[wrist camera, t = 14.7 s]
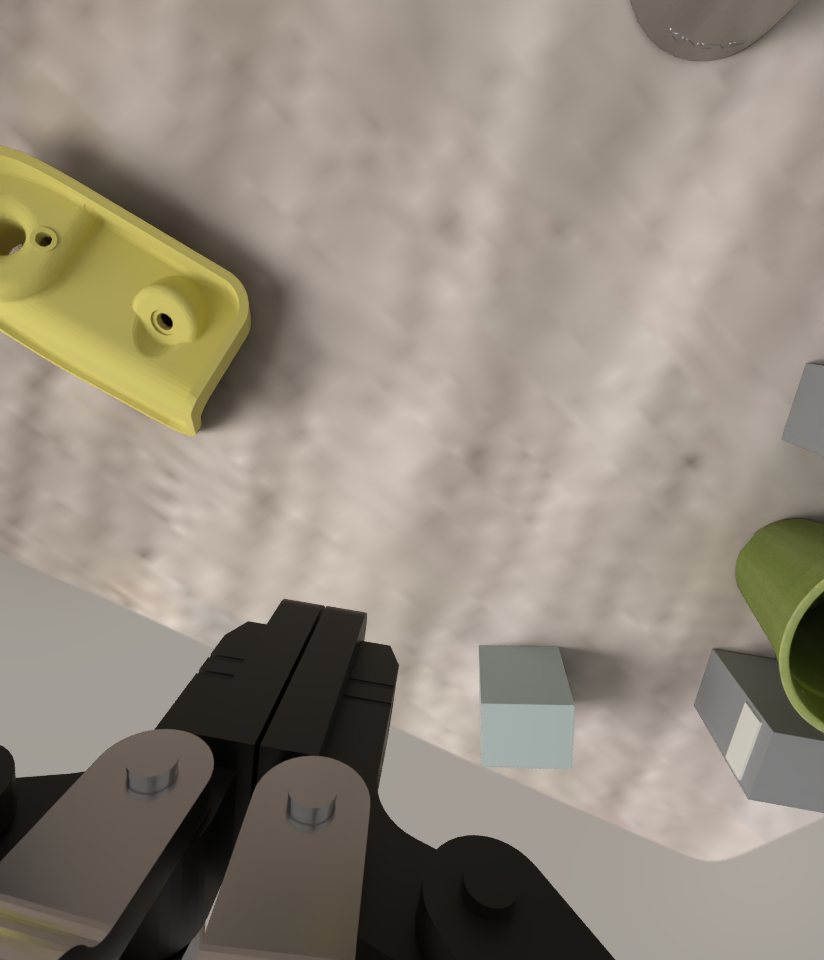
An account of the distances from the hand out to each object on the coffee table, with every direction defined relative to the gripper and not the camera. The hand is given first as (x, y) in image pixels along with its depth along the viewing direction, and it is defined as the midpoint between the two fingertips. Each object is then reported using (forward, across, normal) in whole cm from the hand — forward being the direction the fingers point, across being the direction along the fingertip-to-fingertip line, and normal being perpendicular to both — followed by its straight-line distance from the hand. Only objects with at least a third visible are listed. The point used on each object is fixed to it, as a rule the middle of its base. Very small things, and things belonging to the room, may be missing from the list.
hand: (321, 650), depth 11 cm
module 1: (+31, -10, +20) cm, 38 cm away
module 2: (+31, -28, +18) cm, 46 cm away
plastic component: (+32, +22, -4) cm, 39 cm away
